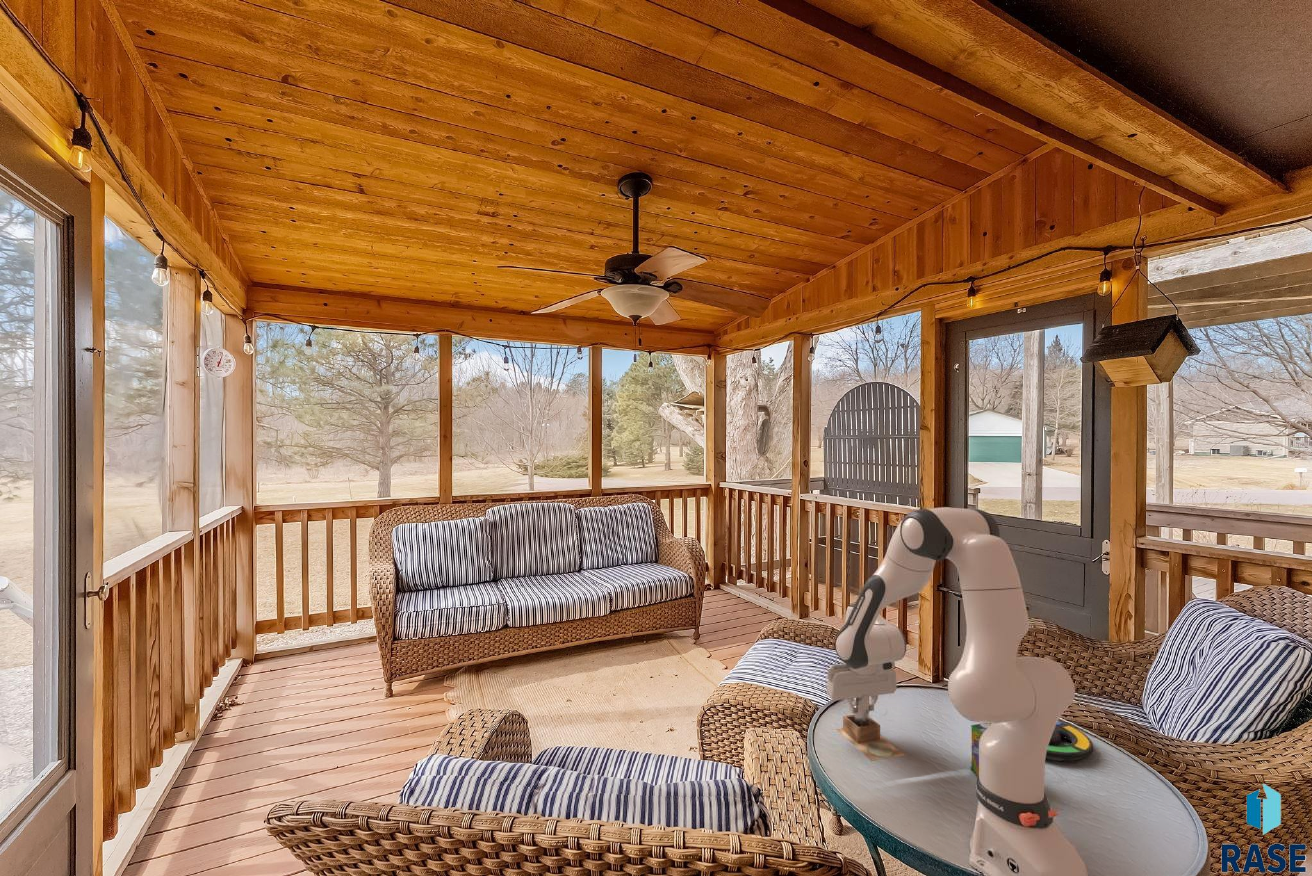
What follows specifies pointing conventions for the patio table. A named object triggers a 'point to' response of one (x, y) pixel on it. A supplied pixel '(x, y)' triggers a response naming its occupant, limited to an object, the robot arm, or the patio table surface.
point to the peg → (862, 711)
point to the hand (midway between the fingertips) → (861, 711)
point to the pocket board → (868, 739)
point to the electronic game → (1073, 751)
